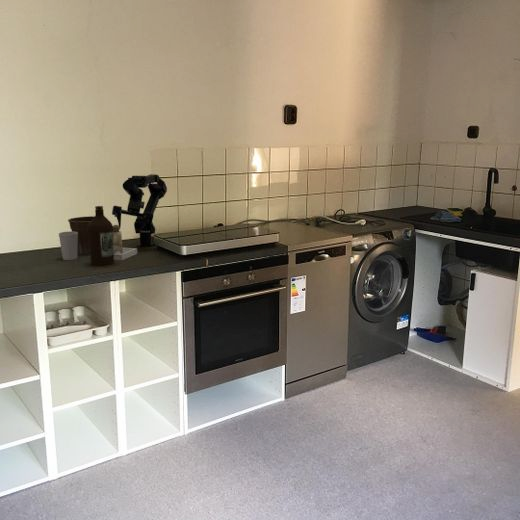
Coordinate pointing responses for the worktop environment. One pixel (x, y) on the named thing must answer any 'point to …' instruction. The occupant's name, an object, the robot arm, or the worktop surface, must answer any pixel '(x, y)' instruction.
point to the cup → (69, 245)
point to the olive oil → (101, 239)
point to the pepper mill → (117, 239)
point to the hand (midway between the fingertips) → (129, 230)
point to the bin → (125, 253)
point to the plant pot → (81, 232)
